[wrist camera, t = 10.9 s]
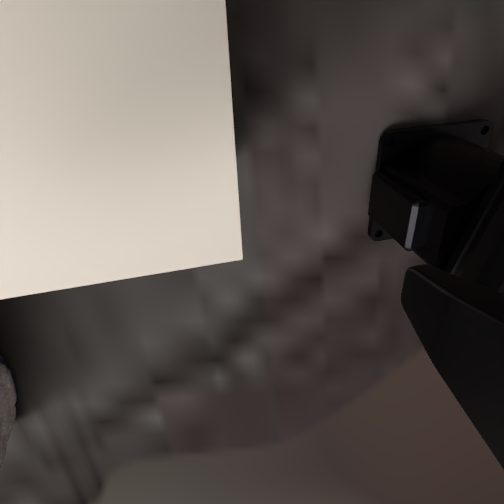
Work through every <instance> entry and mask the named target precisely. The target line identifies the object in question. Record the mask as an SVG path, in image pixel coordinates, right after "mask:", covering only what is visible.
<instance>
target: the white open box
mask: <svg viewBox="0 0 504 504" xmlns="http://www.w3.org/2000/svg"><path fill="white" fill-rule="evenodd" d="M242 259H243V256H242V241H241V226H240V212H239V197H238V182H237V167H236V152H235V137H234V122H233V107H232V92H231V77H230V62H229V48H228V33H227V18H226V3H225V0H0V300H1V299H7V298H13V297H19V296H25V295H31V294H37V293H43V292H49V291H55V290H61V289H67V288H73V287H79V286H85V285H91V284H97V283H103V282H109V281H115V280H121V279H127V278H134V277H140V276H146V275H152V274H158V273H164V272H170V271H176V270H182V269H188V268H194V267H200V266H206V265H212V264H218V263H224V262H230V261H236V260H242Z"/></svg>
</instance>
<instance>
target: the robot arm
mask: <svg viewBox="0 0 504 504" xmlns="http://www.w3.org/2000/svg"><path fill="white" fill-rule="evenodd" d="M483 127H484V129H483V131H481V129H482V128H483ZM492 131H493V124H492V122H490V121H488V120H485V119H479V120H471V121H462V122H454V123H445V124H437V125H428V126H420V127H411V128H403V129H394V130H388V131H385V132H384V133H383V134H382V135H381V137H380V140H379V147H378V155H377V163H376V171H375V172H374V174H373V177H372V186H371V194H370V202H369V210H368V214H369V216H370V219H369V227H368V235H369V237H370V238H371V239H372V240H374V241H381V240H387V239H393V238H394V239H395V240H396V241H397V242H398V243H399V244H400V245H401V246H402V247H403V248H404V249H405V250H406V251H414V252H415V253H416V254H417V255H418V256H419V257H420V258H421V259H422V260H424V261H425V262H426V263H427V264H428V265H426V264H423V265H418V266H412V267H409V268H408V269H407V271H406V273H405V278H404V283H403V288H402V293H401V303H402V306H403V308H404V310H405V312H406V314H407V316H408V318H409V320H410V322H411V324H412V325H413V327H414V329H415V331H416V333H417V335H418V337H419V339H420V341H421V343H422V344H423V346H424V348H425V350H426V352H427V354H428V356H429V357H430V359H431V361H432V363H433V364H434V366H435V368H436V369H437V371H438V372H439V374H440V375H441V377H442V378H443V380H444V381H445V383H446V384H447V386H448V387H449V389H450V390H451V392H452V393H453V395H454V396H455V398H456V399H457V401H458V402H459V404H460V405H461V407H462V408H463V410H464V411H465V413H466V414H467V416H468V417H469V418H470V420H471V422H472V423H473V425H474V426H475V428H476V429H477V431H478V432H479V434H480V435H481V437H482V438H483V440H484V441H485V443H486V444H487V446H488V447H489V449H490V450H491V451H492V453H493V455H494V456H495V457H496V459H497V461H498V462H499V463H500V465H501V467H502V468H503V469H504V156H502V155H499V154H497V153H495V152H492V151H490V150H488V145H489V142H490V138H491V134H492ZM391 137H392V142H391V143H390V144H387V142H388V140H389V139H390V138H391ZM378 230H379V232H378V233H377V234H375V233H376V231H378Z"/></svg>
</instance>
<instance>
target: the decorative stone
mask: <svg viewBox="0 0 504 504" xmlns="http://www.w3.org/2000/svg"><path fill="white" fill-rule="evenodd" d="M12 378H13V376H12V375H11V371H10V370H9V368H8V366H7V365H6V363H5V362H4V360H3V358H2V357H1V355H0V467H1V465H2V462H3V458H4V456H5V453H6V445H7V442H8V439H9V436H10V432H11V430H12V426H13V423H14V420H15V417H16V407H15V403H16V401H17V395H16V391H17V390H16V388H15V386H14V382H13V379H12Z"/></svg>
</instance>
